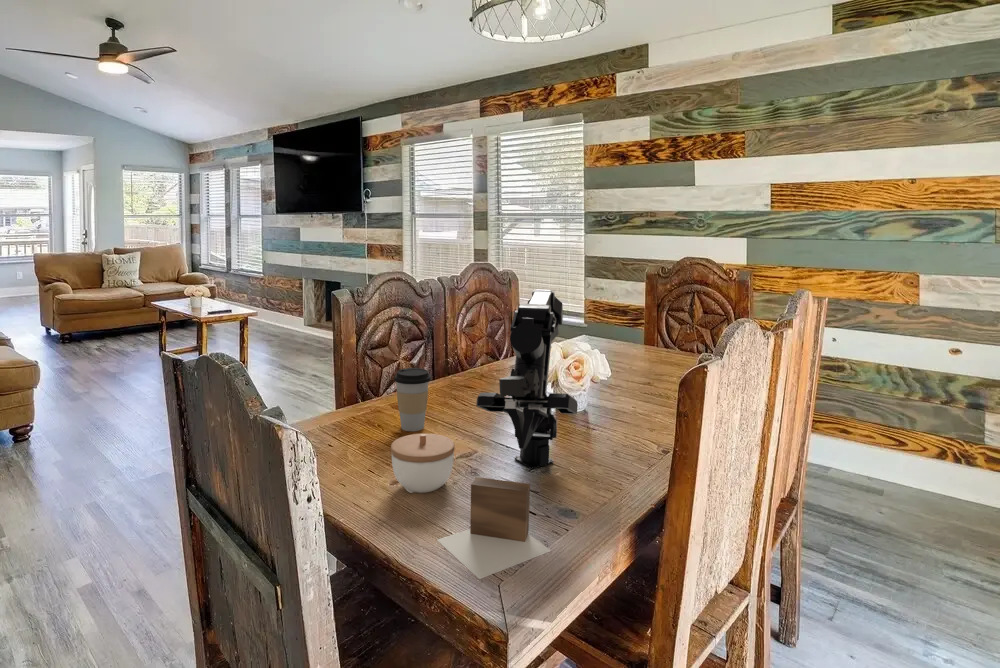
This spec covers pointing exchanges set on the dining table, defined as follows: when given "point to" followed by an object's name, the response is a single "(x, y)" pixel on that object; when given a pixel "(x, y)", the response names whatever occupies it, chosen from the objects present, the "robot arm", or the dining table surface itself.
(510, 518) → the walnut slab
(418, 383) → the coffee cup
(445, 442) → the lidded bowl
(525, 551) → the felt mat
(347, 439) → the dining table surface
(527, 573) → the dining table surface
